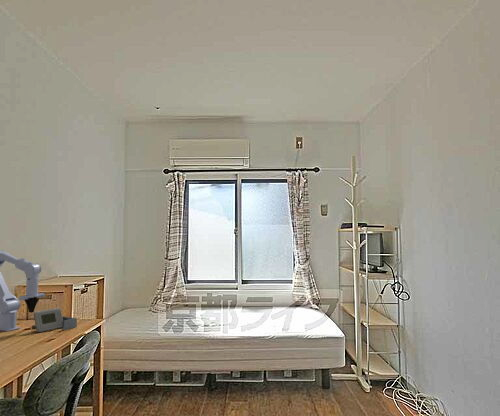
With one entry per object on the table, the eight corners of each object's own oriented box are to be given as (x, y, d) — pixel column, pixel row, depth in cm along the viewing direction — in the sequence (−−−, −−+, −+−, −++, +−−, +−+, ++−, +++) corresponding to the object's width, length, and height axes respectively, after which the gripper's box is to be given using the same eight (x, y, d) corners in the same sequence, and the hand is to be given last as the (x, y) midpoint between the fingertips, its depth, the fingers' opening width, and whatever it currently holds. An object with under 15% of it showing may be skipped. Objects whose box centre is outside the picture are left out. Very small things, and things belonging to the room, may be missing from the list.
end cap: (43, 328, 234) (44, 318, 234) (57, 324, 243) (57, 315, 243) (63, 330, 229) (64, 321, 229) (76, 327, 237) (76, 318, 237)
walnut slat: (37, 329, 232) (37, 325, 232) (31, 329, 232) (31, 325, 232) (46, 324, 244) (46, 321, 244) (41, 324, 244) (41, 321, 244)
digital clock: (36, 333, 222) (37, 313, 222) (29, 330, 228) (30, 310, 228) (67, 328, 234) (67, 308, 235) (59, 326, 240) (60, 306, 241)
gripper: (26, 288, 220) (25, 315, 219) (48, 285, 234) (48, 310, 233) (16, 287, 223) (15, 314, 222) (39, 284, 236) (38, 309, 235)
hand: (31, 312), depth 228 cm, fingers closed
